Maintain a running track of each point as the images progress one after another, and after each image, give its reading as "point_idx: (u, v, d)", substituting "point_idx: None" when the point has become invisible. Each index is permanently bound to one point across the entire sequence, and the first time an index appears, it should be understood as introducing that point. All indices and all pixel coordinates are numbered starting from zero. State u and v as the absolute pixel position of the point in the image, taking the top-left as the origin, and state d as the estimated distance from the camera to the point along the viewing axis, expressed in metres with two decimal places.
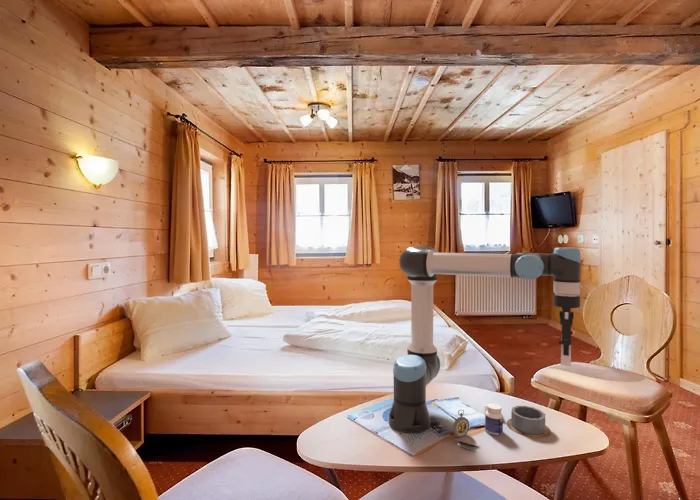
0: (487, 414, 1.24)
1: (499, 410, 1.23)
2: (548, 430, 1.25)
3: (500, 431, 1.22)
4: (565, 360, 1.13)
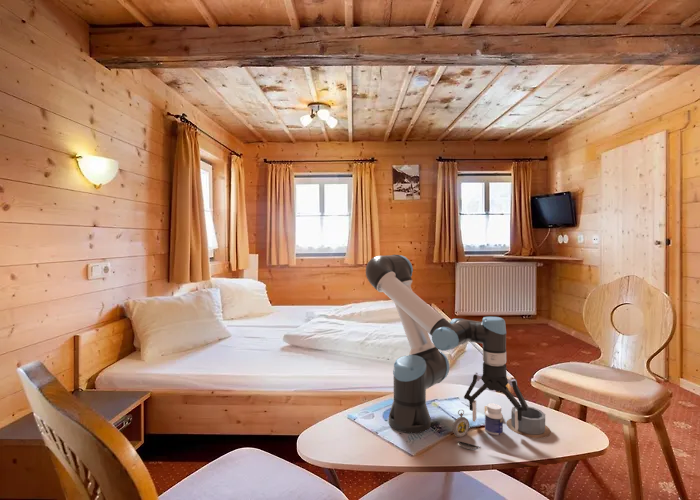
0: (487, 414, 1.24)
1: (499, 410, 1.23)
2: (548, 430, 1.25)
3: (500, 431, 1.22)
4: None
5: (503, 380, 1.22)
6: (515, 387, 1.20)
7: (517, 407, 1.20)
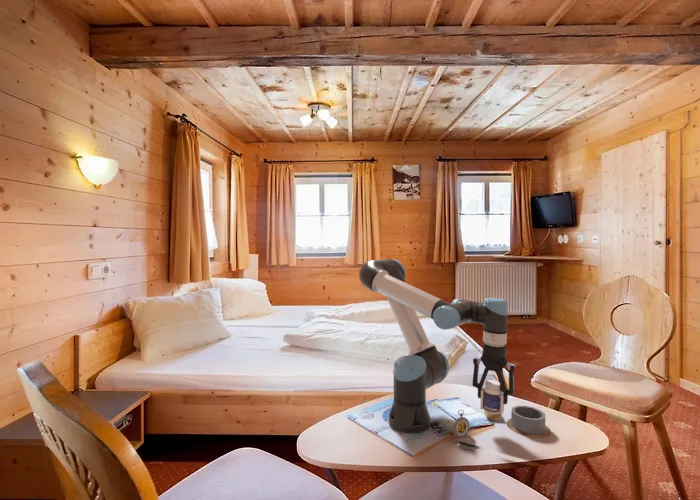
0: (486, 390, 1.24)
1: (498, 386, 1.23)
2: (548, 430, 1.25)
3: (498, 407, 1.22)
4: None
5: (503, 361, 1.22)
6: (511, 372, 1.20)
7: (504, 391, 1.22)
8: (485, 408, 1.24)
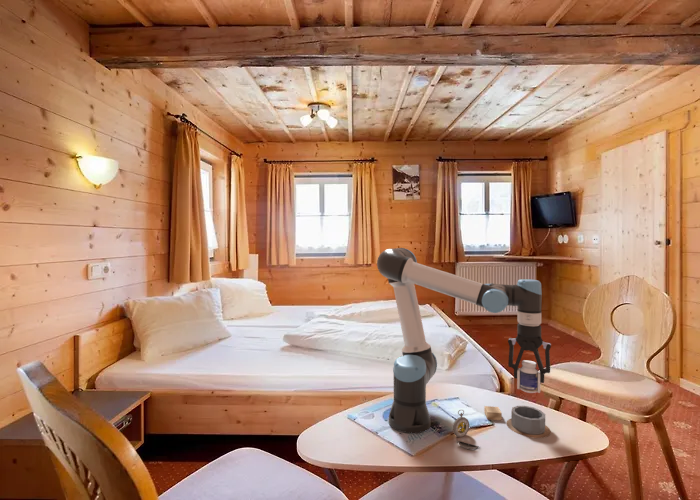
0: (522, 370, 1.26)
1: (534, 365, 1.25)
2: (548, 430, 1.25)
3: (535, 386, 1.24)
4: None
5: (539, 340, 1.24)
6: (548, 350, 1.23)
7: (541, 369, 1.24)
8: (522, 387, 1.26)
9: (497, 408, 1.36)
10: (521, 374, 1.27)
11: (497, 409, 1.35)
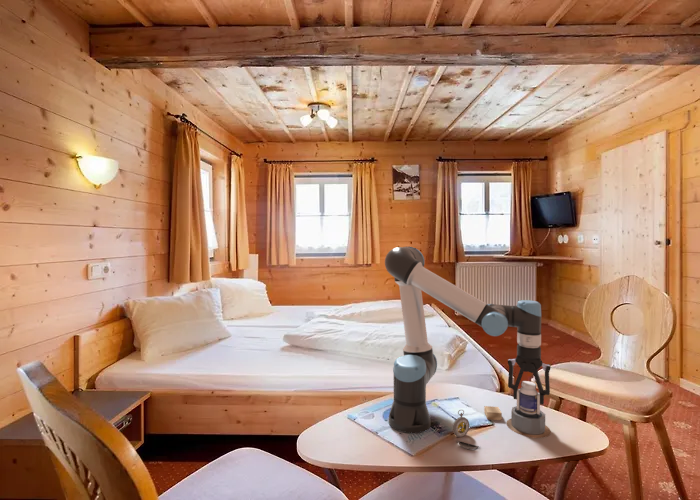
0: (522, 391, 1.26)
1: (534, 387, 1.25)
2: (548, 430, 1.25)
3: (535, 407, 1.25)
4: None
5: (538, 362, 1.24)
6: (547, 372, 1.23)
7: (540, 391, 1.24)
8: (522, 409, 1.26)
9: (497, 408, 1.36)
10: (521, 395, 1.27)
11: (497, 409, 1.35)
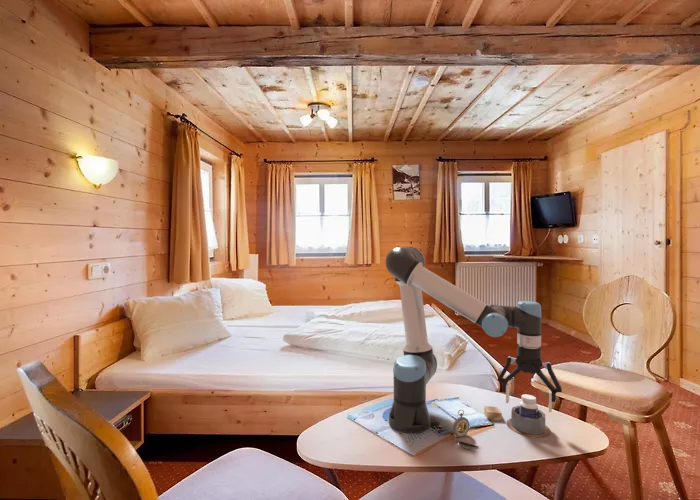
0: (522, 404, 1.26)
1: (534, 400, 1.25)
2: (548, 430, 1.25)
3: None
4: None
5: (538, 362, 1.24)
6: (550, 369, 1.23)
7: (551, 389, 1.23)
8: None
9: (497, 408, 1.36)
10: (521, 409, 1.27)
11: (497, 409, 1.35)
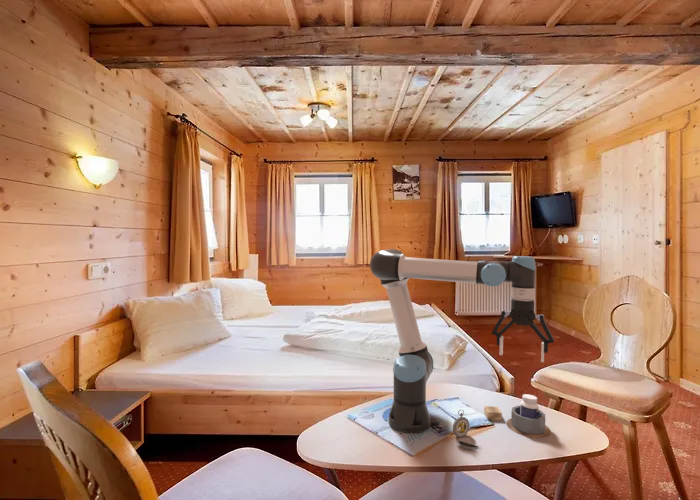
0: (523, 404, 1.26)
1: (536, 400, 1.25)
2: (548, 430, 1.25)
3: None
4: None
5: (531, 315, 1.28)
6: (542, 321, 1.26)
7: (544, 340, 1.26)
8: None
9: (497, 408, 1.36)
10: (522, 409, 1.27)
11: (497, 409, 1.35)
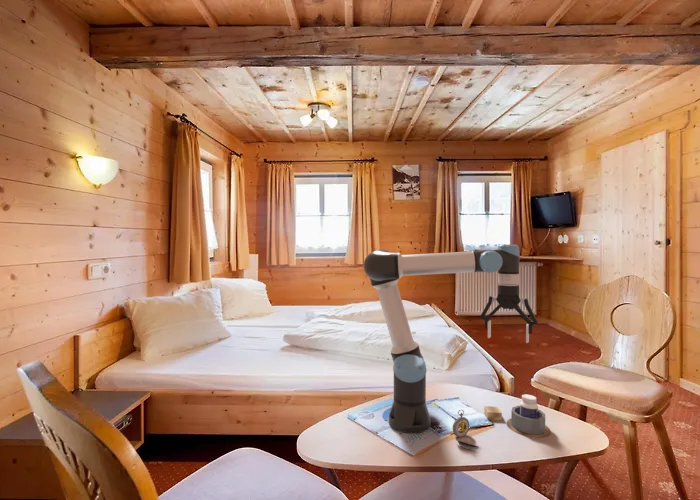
0: (523, 405, 1.26)
1: (535, 400, 1.25)
2: (548, 430, 1.25)
3: None
4: None
5: (516, 299, 1.37)
6: (527, 304, 1.35)
7: (528, 322, 1.35)
8: None
9: (497, 408, 1.36)
10: (522, 409, 1.27)
11: (497, 409, 1.35)
